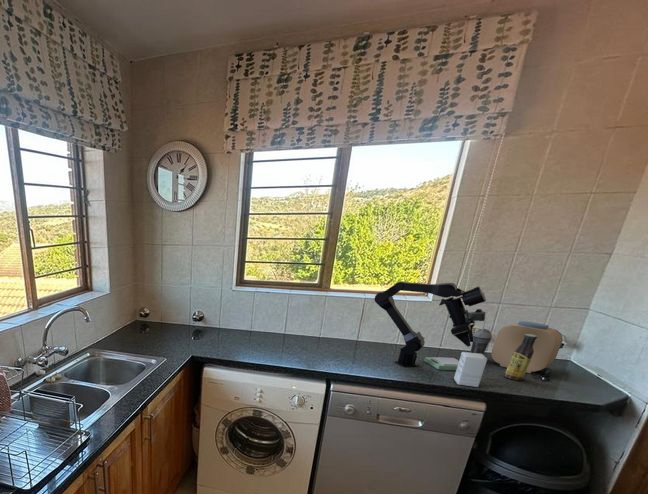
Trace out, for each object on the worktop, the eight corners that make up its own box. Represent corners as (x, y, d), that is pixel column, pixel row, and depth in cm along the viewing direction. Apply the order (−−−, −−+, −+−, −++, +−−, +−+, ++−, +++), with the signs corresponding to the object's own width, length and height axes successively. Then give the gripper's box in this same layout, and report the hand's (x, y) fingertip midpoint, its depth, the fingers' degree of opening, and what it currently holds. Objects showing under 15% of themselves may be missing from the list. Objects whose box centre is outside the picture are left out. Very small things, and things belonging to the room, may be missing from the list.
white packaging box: (473, 381, 173) (482, 353, 168) (478, 387, 166) (488, 358, 162) (453, 378, 176) (461, 351, 171) (457, 384, 169) (465, 356, 165)
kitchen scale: (438, 369, 186) (439, 364, 185) (424, 361, 197) (425, 356, 196) (468, 370, 185) (469, 365, 184) (452, 362, 196) (453, 357, 195)
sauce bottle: (500, 375, 179) (515, 332, 172) (513, 375, 180) (529, 332, 173) (513, 381, 173) (530, 337, 166) (527, 380, 174) (544, 336, 167)
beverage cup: (487, 362, 196) (500, 322, 189) (470, 361, 197) (483, 321, 190) (479, 357, 203) (491, 318, 195) (462, 356, 204) (474, 318, 197)
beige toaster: (550, 373, 183) (568, 326, 175) (542, 377, 178) (561, 329, 170) (495, 360, 199) (510, 317, 191) (487, 363, 194) (502, 319, 187)
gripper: (476, 306, 161) (491, 342, 161) (482, 300, 174) (496, 333, 174) (444, 316, 169) (458, 351, 169) (451, 310, 182) (465, 341, 182)
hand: (470, 344), depth 173 cm, fingers open, 9 cm apart
